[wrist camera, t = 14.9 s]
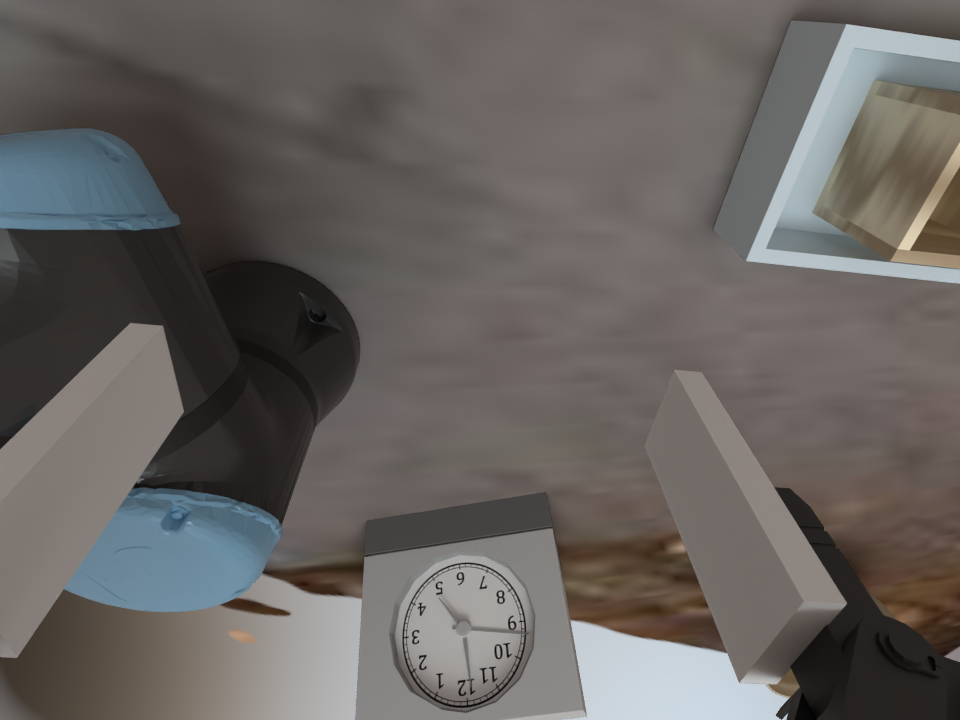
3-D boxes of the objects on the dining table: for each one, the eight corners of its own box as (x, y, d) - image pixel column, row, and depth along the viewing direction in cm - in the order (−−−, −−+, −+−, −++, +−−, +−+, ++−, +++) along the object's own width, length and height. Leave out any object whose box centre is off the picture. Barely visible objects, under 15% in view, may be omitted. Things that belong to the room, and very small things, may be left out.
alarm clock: (546, 491, 59) (578, 689, 42) (563, 575, 67) (595, 767, 50) (366, 520, 61) (328, 720, 44) (405, 598, 69) (386, 790, 52)
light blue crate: (969, 258, 44) (1033, 291, 39) (712, 229, 42) (745, 261, 37) (1098, 65, 36) (1199, 76, 31) (791, 20, 34) (846, 24, 29)
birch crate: (922, 224, 41) (1023, 275, 34) (812, 212, 40) (890, 261, 33) (998, 96, 36) (1136, 122, 29) (874, 79, 35) (983, 101, 28)
